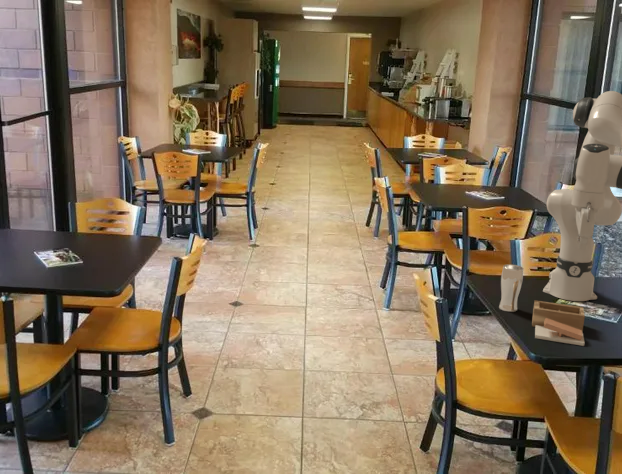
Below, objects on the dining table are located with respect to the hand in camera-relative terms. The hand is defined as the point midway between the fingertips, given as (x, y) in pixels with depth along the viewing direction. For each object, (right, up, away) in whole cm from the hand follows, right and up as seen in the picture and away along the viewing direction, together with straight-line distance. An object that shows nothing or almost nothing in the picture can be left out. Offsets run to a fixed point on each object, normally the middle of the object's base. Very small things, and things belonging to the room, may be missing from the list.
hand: (581, 245), depth 195 cm
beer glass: (-13, -22, +29) cm, 39 cm away
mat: (-4, -28, +7) cm, 29 cm away
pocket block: (-1, -26, +16) cm, 31 cm away
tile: (-4, -27, +5) cm, 27 cm away
